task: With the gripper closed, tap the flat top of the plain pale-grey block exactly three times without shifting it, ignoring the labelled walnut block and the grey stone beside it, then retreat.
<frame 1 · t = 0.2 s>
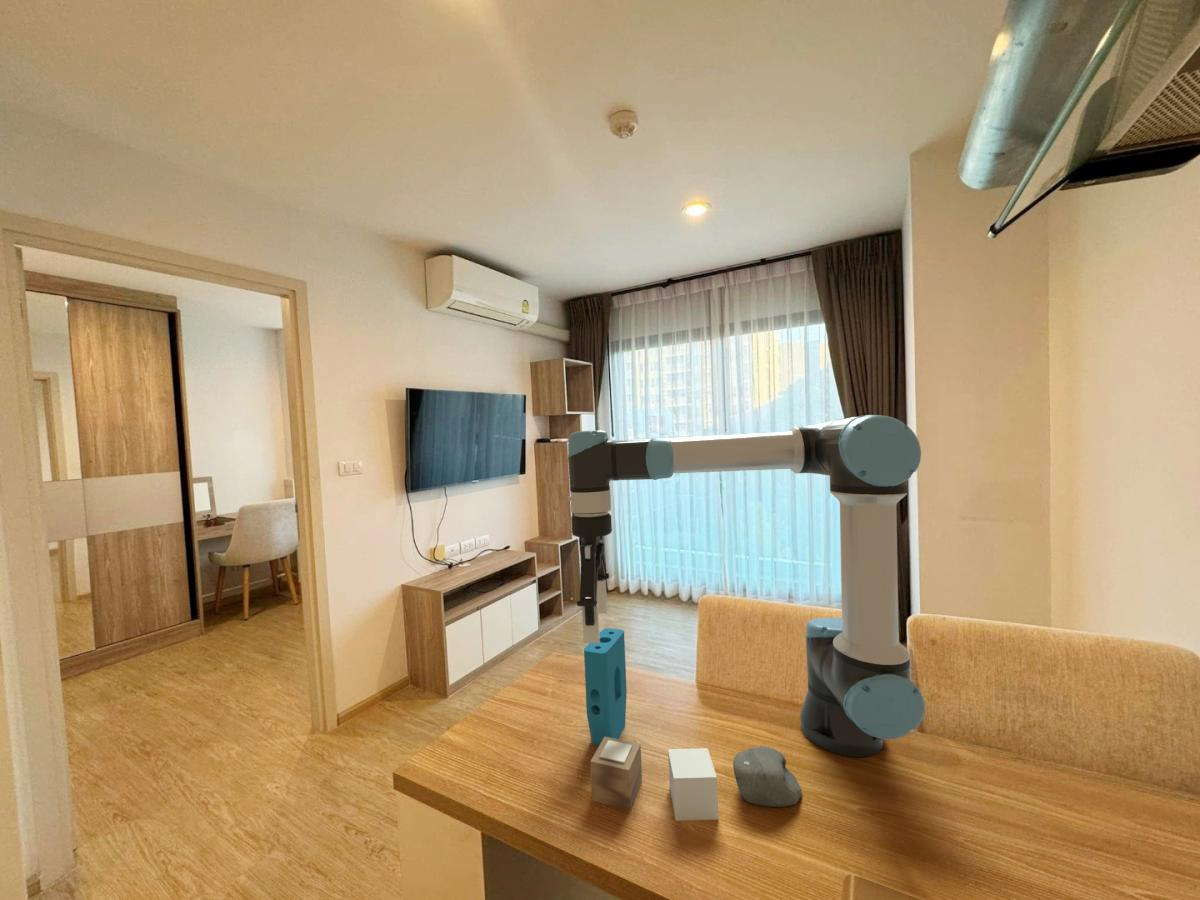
hand: (596, 626, 85), 28 cm above the table, fingers open, 13 cm apart
marked block: (617, 791, 80), on the table
block: (608, 733, 96), on the table
stone: (768, 794, 78), on the table
plain block: (693, 803, 77), on the table
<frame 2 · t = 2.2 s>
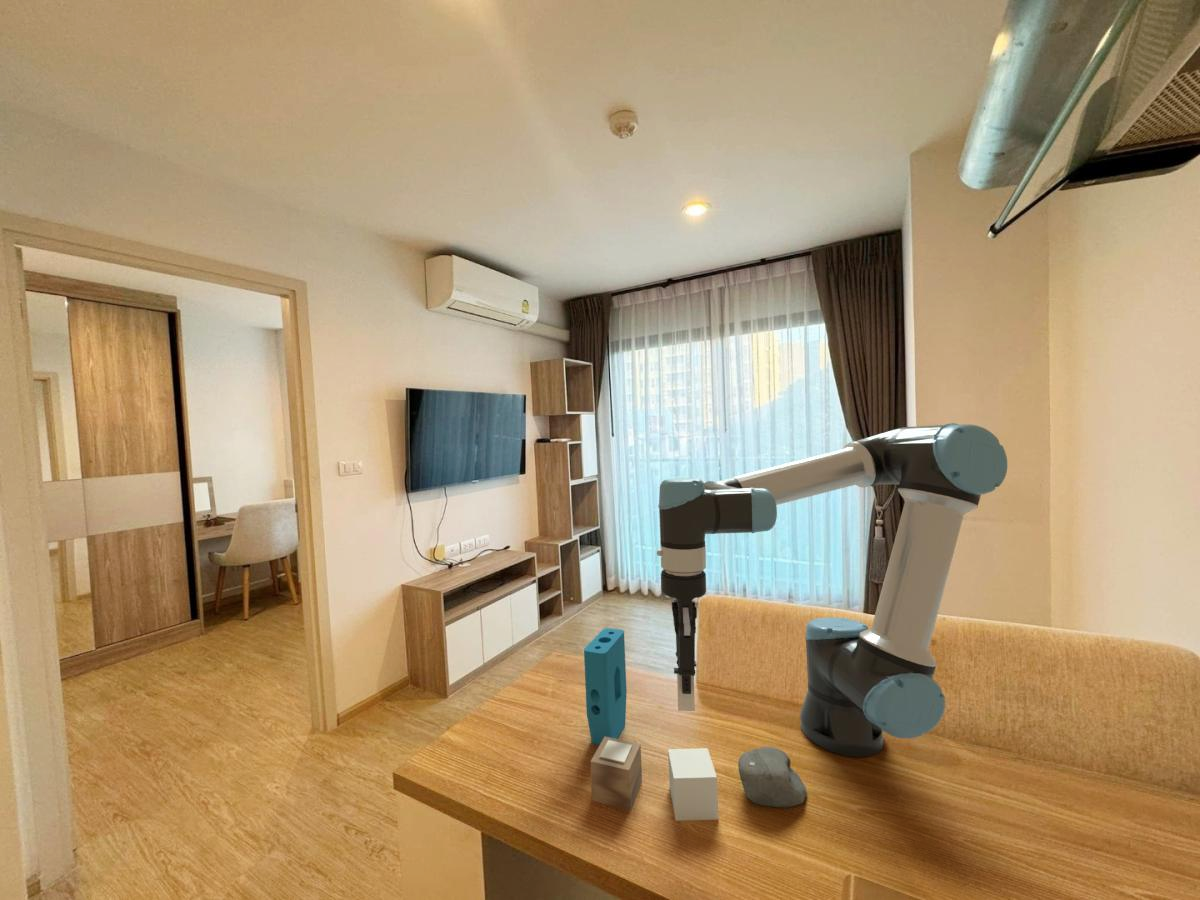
hand: (686, 708, 77), 16 cm above the table, fingers closed
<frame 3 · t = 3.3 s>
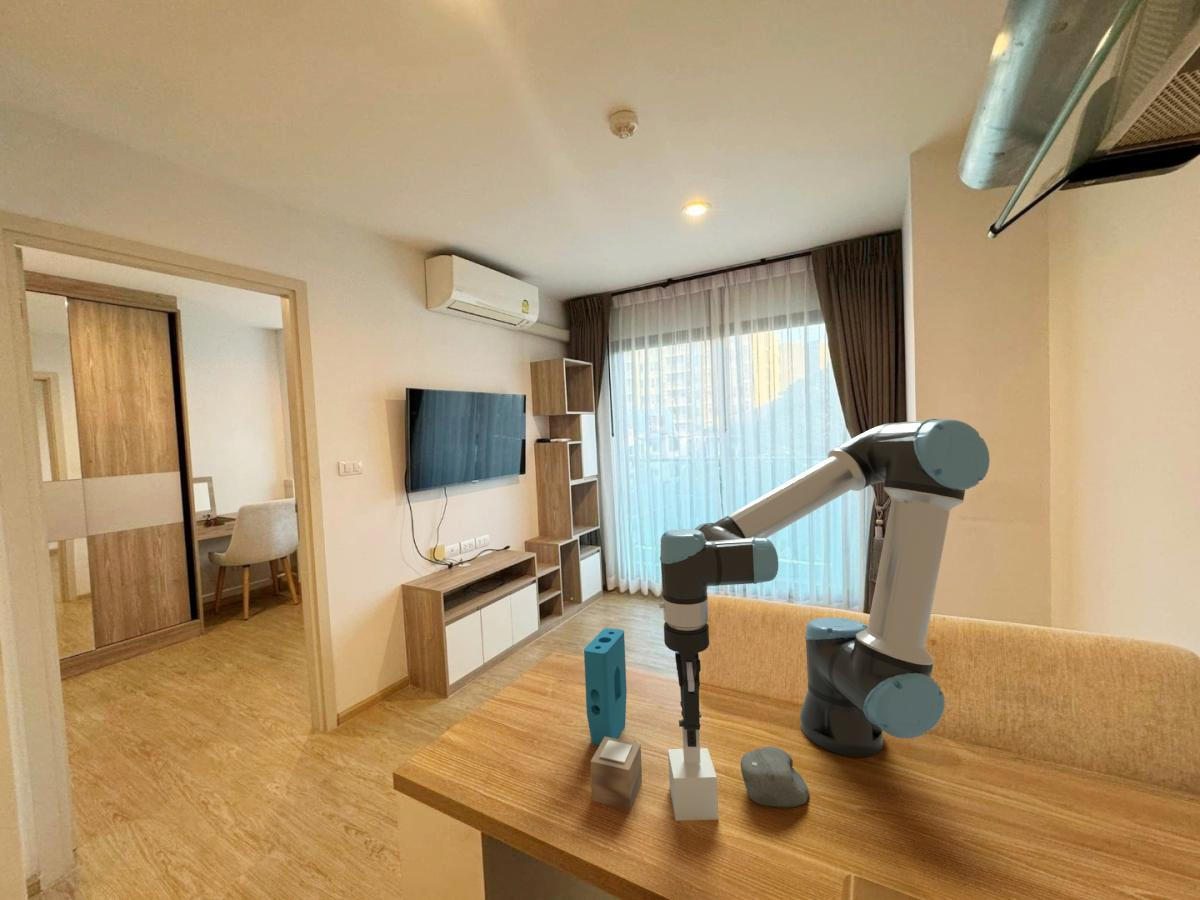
hand: (691, 759, 77), 7 cm above the table, fingers closed
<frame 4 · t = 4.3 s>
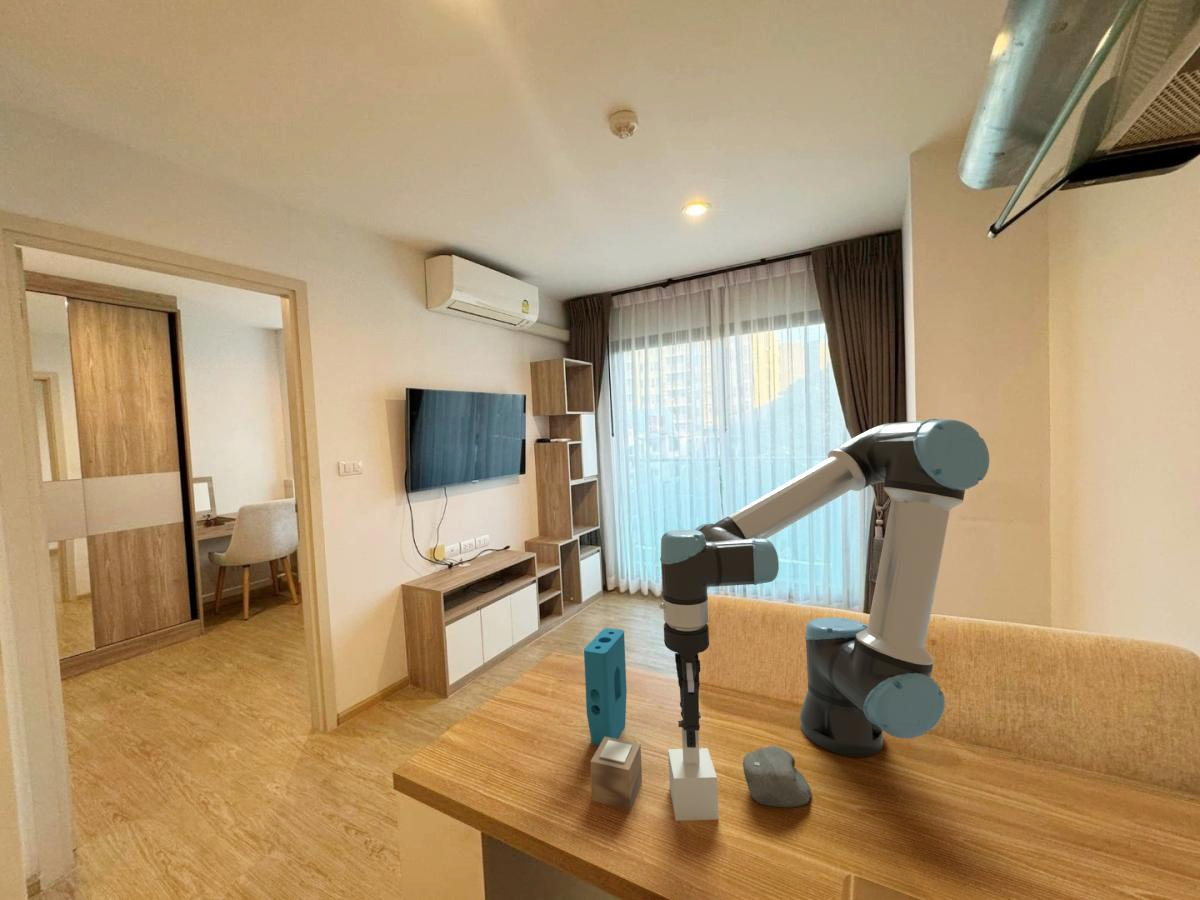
hand: (691, 760, 77), 7 cm above the table, fingers closed
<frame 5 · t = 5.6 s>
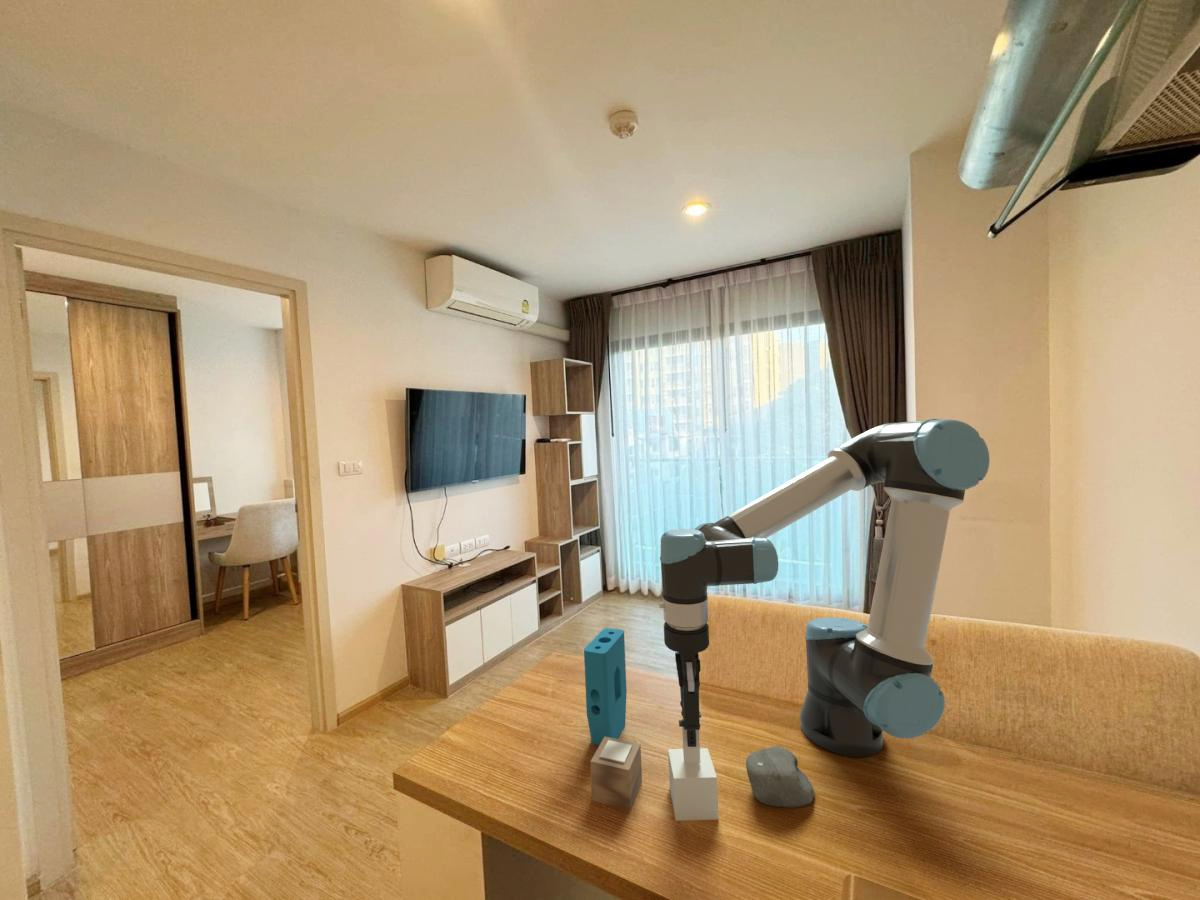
hand: (691, 759, 77), 7 cm above the table, fingers closed
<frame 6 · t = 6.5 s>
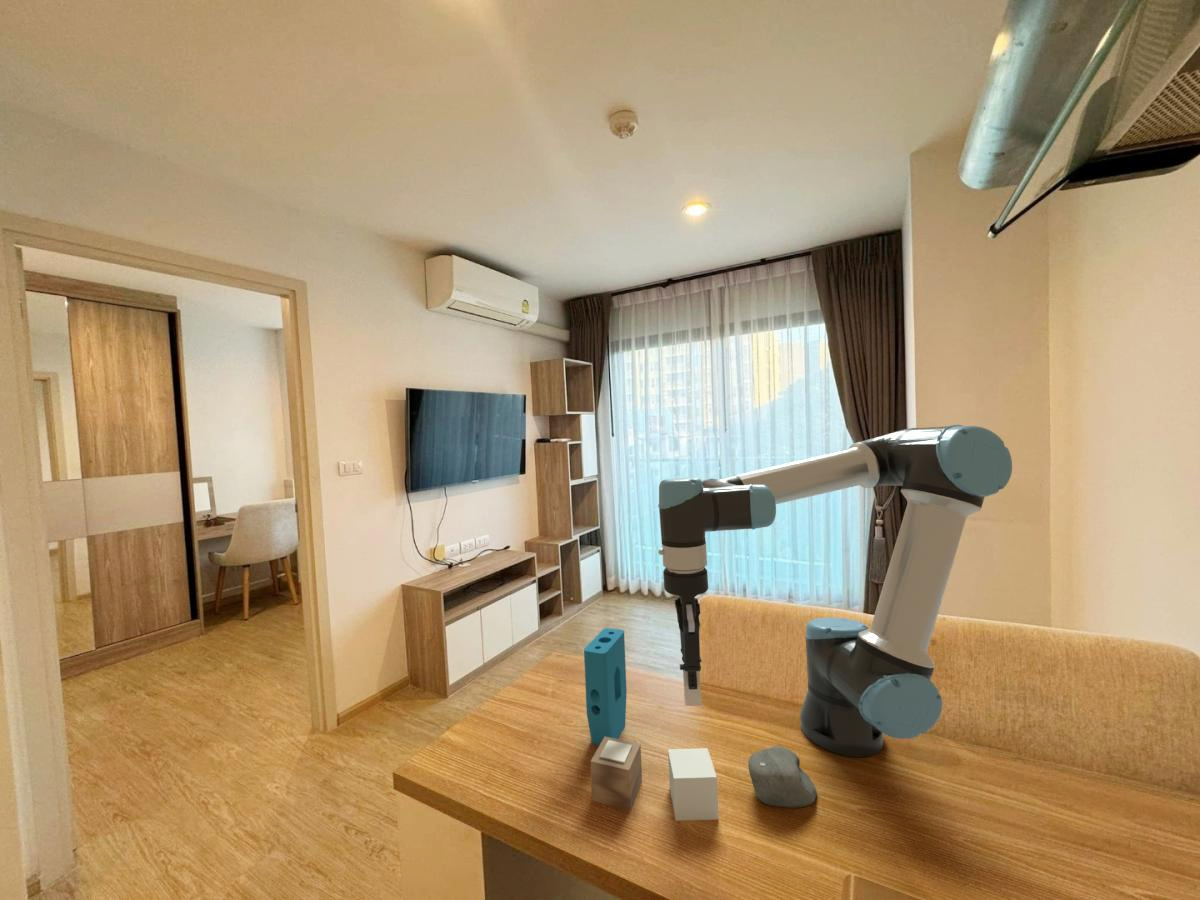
hand: (693, 703, 78), 16 cm above the table, fingers closed
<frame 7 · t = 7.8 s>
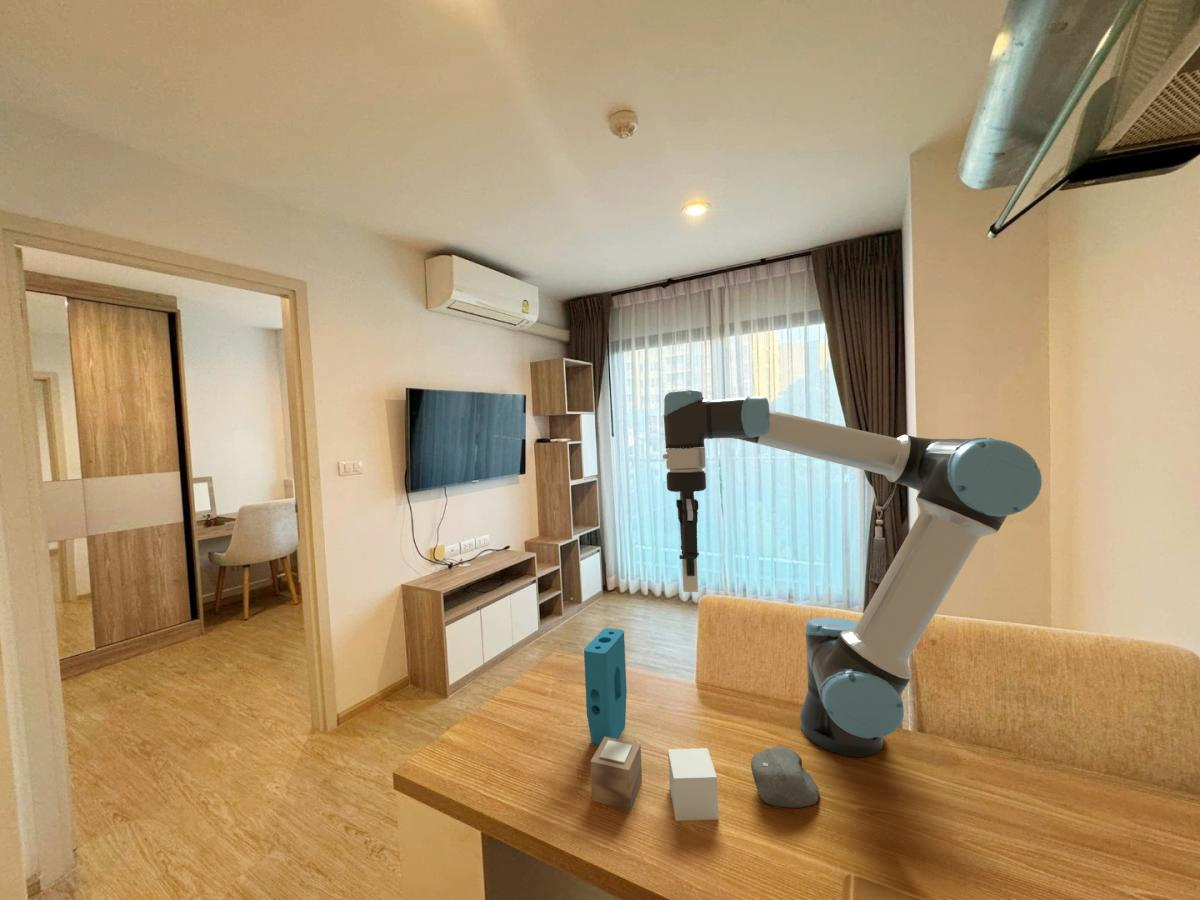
hand: (690, 590, 88), 32 cm above the table, fingers closed
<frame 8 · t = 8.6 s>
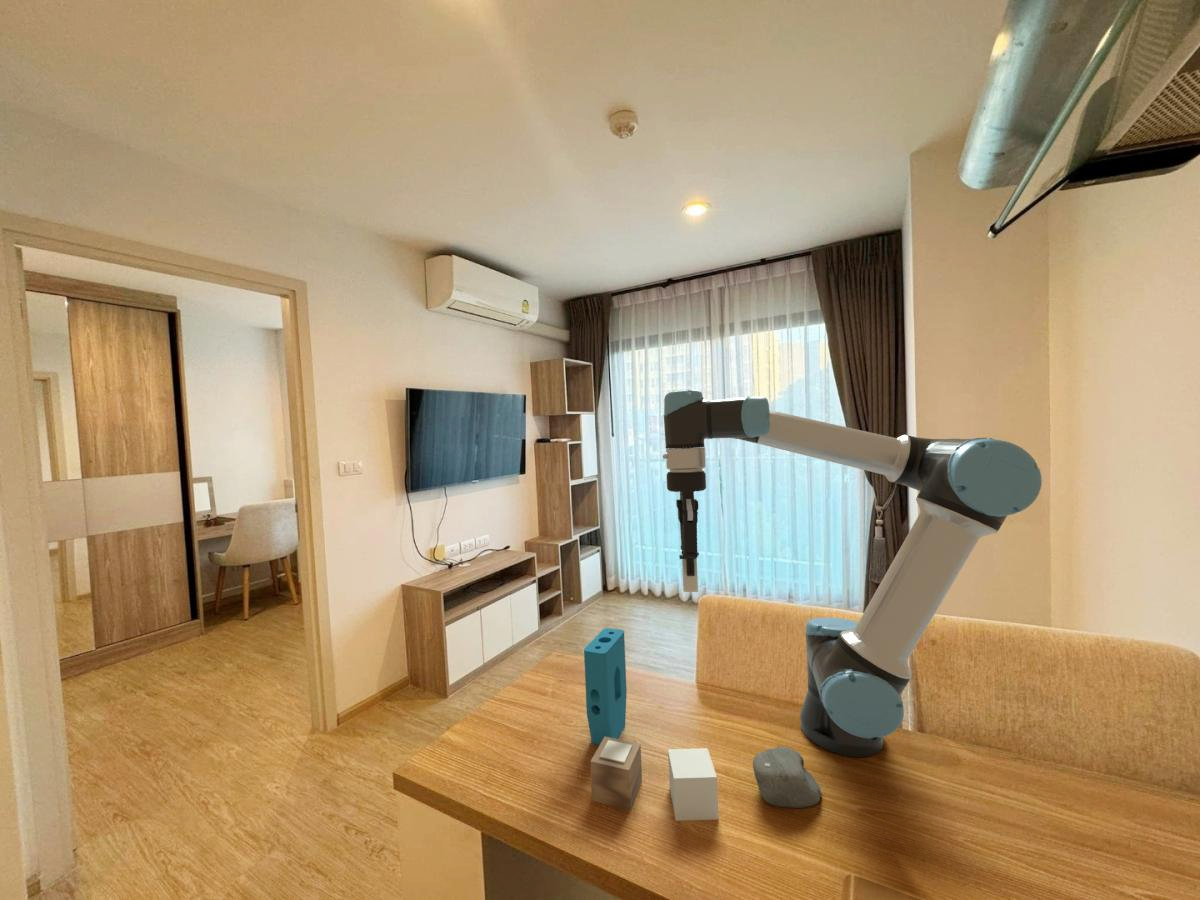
hand: (690, 590, 88), 32 cm above the table, fingers closed
at the end: plain block moved 0.1 cm from its start; plain block tilted 0°; marked block moved 0.1 cm from its start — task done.
